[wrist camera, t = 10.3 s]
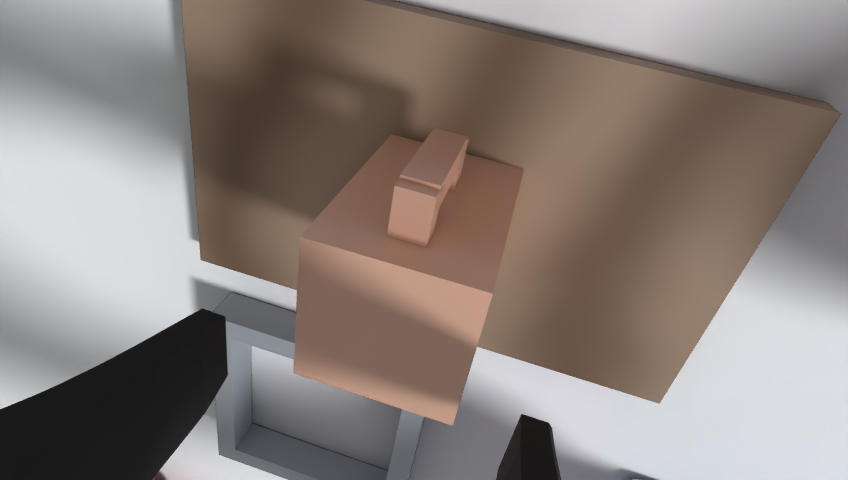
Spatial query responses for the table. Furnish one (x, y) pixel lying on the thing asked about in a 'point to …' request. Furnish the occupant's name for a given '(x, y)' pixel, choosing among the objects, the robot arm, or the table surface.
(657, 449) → the table surface
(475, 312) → the peach cube with handle
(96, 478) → the robot arm
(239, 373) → the collar
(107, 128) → the table surface
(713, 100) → the board
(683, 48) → the table surface
